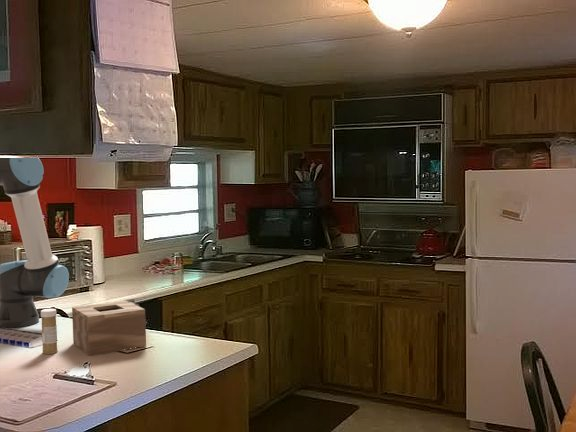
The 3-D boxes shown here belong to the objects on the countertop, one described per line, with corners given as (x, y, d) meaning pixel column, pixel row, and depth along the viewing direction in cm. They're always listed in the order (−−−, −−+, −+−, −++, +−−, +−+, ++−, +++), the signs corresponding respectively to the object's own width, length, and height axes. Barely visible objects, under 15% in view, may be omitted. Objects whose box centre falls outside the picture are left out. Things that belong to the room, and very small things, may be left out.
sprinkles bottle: (44, 350, 215) (42, 308, 214) (59, 350, 215) (57, 307, 214) (40, 354, 210) (38, 311, 209) (56, 354, 211) (54, 310, 210)
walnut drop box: (73, 343, 224) (72, 307, 223) (127, 335, 233) (125, 300, 232) (89, 355, 208) (88, 316, 208) (146, 346, 218) (145, 309, 217)
